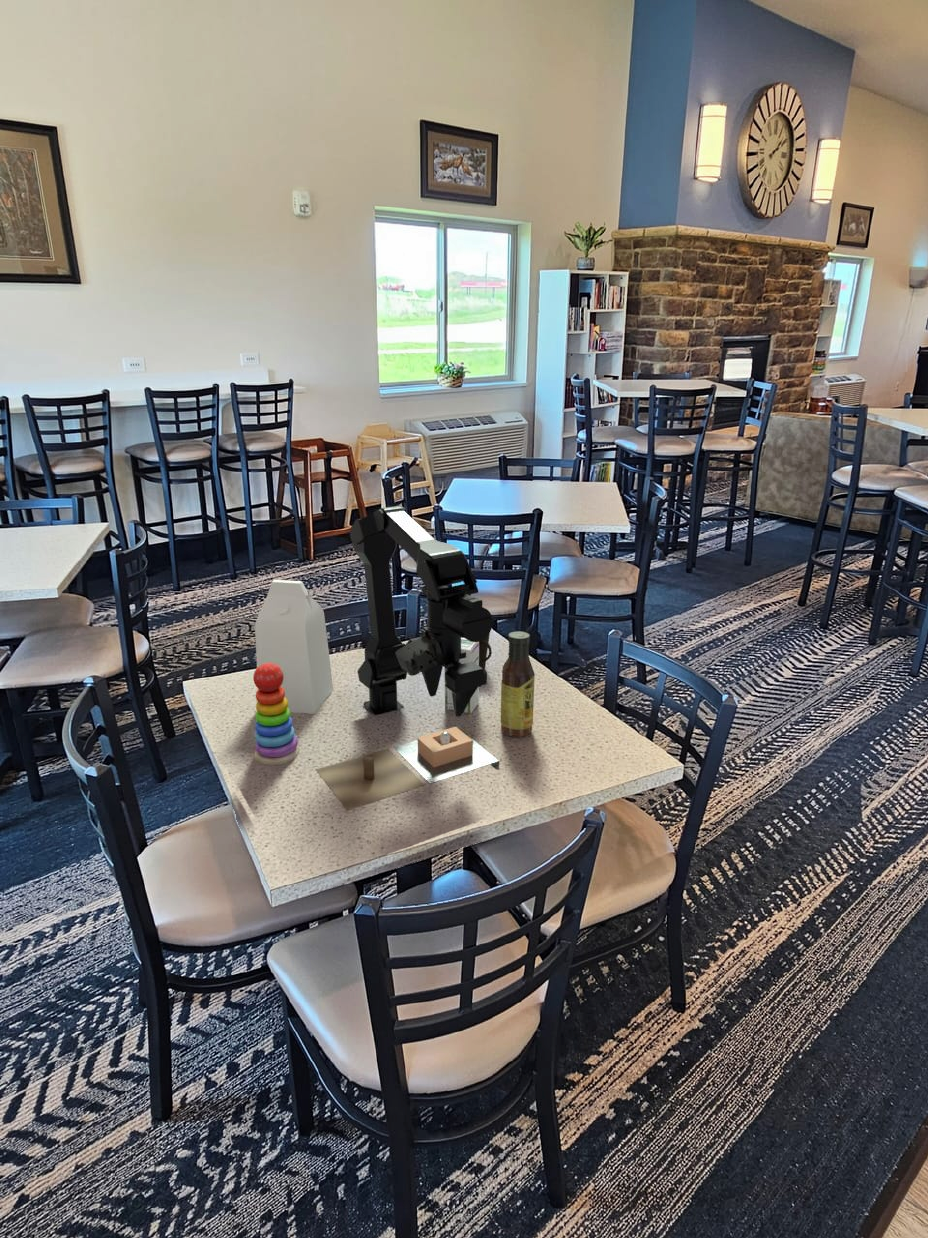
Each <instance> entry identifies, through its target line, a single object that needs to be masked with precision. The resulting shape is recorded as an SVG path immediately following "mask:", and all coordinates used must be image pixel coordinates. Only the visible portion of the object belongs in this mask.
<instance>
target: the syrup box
mask: <svg viewBox="0 0 928 1238" xmlns="http://www.w3.org/2000/svg"><path fill="white" fill-rule="evenodd" d="M461 649H462V650H463V651H465V652H466V658H463V659H459V662H460V663H462V664H464V663H468V662H474V663H475V664H477V665H478V666H479V642H471V641H469V640H467V639H465V638H461ZM447 670H448V669H446V668H445V667H444V673H445V672H446V671H447ZM445 684H447V683H446V681H445V680H444V710H445V711H450V712H454V706H453V698H452V691H451V690H449V689H448V688H447V687H446V686H445ZM479 689H480V687H478V688H477V690H476V691H475V693H474V694H473V696H472V697H471V699H470V701H469V703H468V705H467V707H466V709H465V710H464V712H463V714H469V715H470V714H472V713H473V711H474V710H475V709H476V708H477V706H478V704H479V702H480V697H479Z"/></svg>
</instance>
